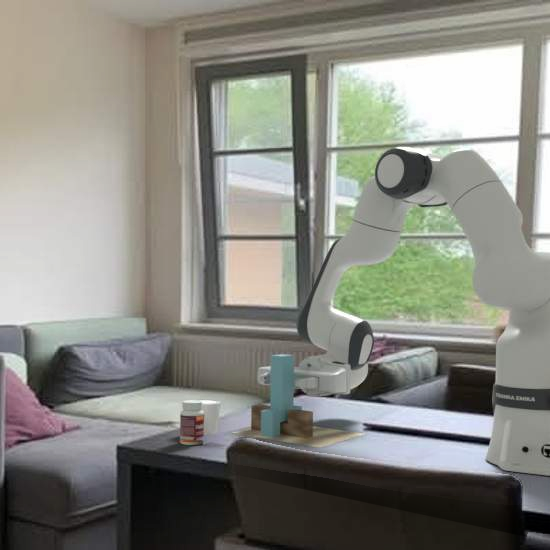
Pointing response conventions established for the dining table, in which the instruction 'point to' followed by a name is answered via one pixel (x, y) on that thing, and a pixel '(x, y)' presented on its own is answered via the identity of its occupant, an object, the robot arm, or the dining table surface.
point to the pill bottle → (191, 422)
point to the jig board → (312, 441)
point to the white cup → (210, 416)
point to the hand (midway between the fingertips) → (279, 381)
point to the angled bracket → (279, 395)
